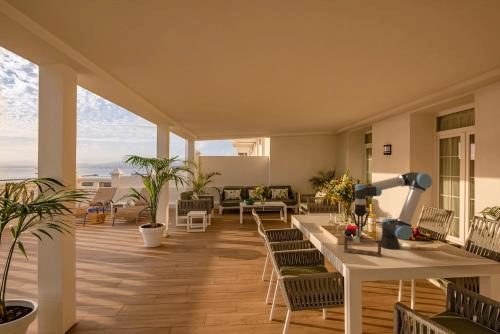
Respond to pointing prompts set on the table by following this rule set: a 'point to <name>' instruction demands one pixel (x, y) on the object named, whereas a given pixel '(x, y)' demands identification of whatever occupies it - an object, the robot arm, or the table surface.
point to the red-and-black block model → (351, 230)
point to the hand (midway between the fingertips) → (360, 234)
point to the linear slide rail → (362, 252)
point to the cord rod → (361, 240)
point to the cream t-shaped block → (356, 237)
